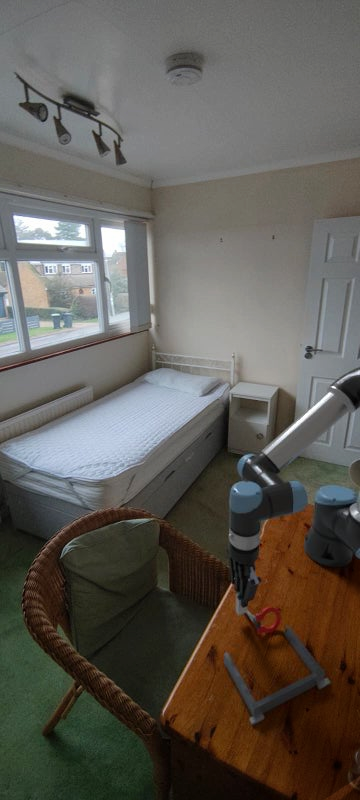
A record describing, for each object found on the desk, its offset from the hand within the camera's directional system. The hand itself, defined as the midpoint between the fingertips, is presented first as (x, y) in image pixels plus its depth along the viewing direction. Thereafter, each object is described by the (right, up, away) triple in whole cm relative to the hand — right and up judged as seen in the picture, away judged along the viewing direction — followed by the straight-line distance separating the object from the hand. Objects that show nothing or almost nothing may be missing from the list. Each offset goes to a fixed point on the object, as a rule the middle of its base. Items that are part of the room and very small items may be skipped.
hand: (241, 611), depth 102 cm
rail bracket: (+5, -8, -12) cm, 15 cm away
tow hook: (+9, 0, +3) cm, 9 cm away
